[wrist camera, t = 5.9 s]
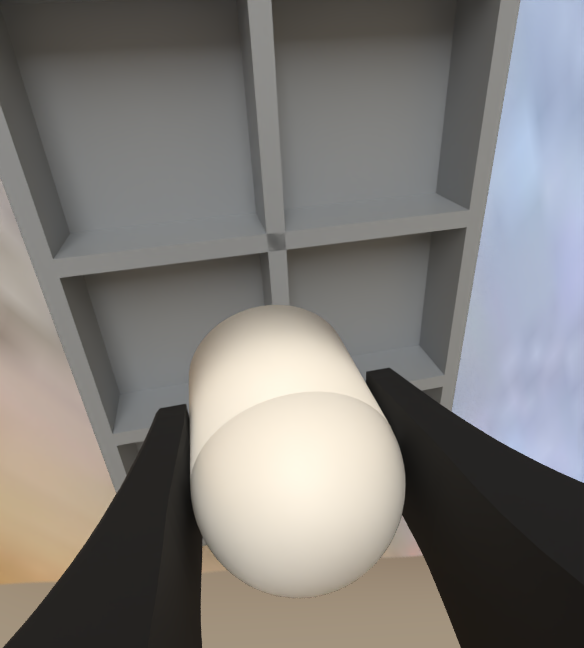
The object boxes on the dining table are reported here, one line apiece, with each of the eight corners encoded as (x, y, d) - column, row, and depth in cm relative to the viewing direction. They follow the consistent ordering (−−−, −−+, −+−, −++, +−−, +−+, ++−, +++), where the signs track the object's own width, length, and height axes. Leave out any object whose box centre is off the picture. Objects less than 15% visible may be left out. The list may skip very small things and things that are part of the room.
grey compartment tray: (145, 501, 23) (140, 559, 21) (-23, -19, 12) (-80, -41, 10) (410, 448, 26) (437, 493, 23) (464, -33, 15) (529, -55, 12)
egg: (204, 448, 13) (216, 672, 8) (172, 321, 11) (162, 523, 6) (347, 419, 14) (436, 612, 9) (344, 292, 12) (460, 457, 7)
